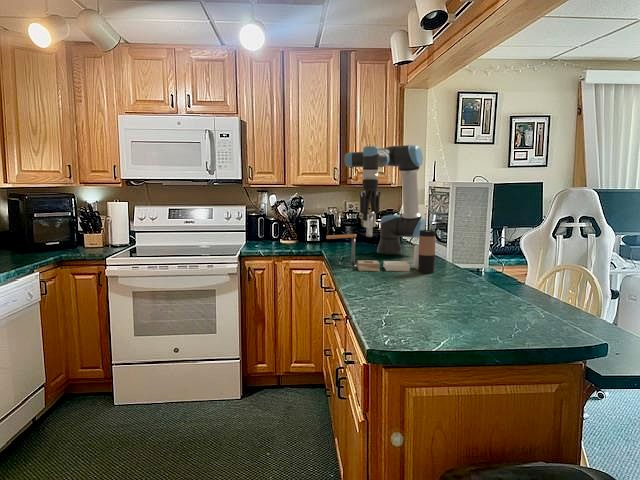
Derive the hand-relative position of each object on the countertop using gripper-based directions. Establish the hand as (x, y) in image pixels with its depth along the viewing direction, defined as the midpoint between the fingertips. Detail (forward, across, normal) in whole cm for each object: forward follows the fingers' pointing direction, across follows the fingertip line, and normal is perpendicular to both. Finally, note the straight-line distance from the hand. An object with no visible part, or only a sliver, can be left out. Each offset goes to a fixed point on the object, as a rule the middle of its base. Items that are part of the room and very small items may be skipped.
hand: (369, 226), depth 232 cm
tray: (+21, +10, -9) cm, 25 cm away
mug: (+21, +24, -17) cm, 36 cm away
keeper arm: (+6, -7, +11) cm, 15 cm away
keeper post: (+21, 0, +10) cm, 23 cm away
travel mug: (+21, +14, -24) cm, 35 cm away
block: (+21, 0, 0) cm, 21 cm away
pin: (+5, 0, 0) cm, 5 cm away
